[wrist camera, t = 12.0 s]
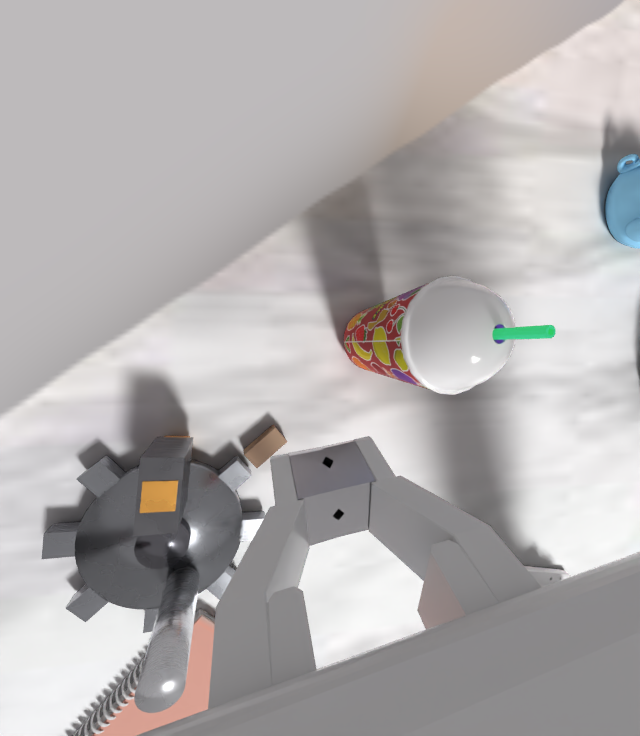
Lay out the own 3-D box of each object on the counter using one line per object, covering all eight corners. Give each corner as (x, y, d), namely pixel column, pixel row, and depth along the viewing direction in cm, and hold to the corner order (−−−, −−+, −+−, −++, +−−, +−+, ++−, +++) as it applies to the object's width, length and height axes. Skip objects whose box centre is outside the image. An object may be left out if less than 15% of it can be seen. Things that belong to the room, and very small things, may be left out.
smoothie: (390, 298, 33) (599, 234, 14) (402, 365, 35) (611, 389, 16) (325, 311, 31) (473, 256, 12) (341, 383, 32) (497, 436, 13)
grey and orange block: (193, 437, 26) (184, 457, 21) (187, 499, 27) (177, 533, 22) (157, 436, 25) (139, 457, 21) (151, 501, 26) (132, 536, 21)
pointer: (273, 424, 30) (275, 428, 29) (284, 437, 31) (287, 441, 29) (243, 449, 29) (244, 454, 28) (255, 462, 30) (256, 468, 29)
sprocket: (272, 437, 30) (292, 482, 20) (253, 602, 31) (264, 723, 21) (61, 433, 24) (-56, 492, 14) (45, 634, 25) (-77, 822, 15)
